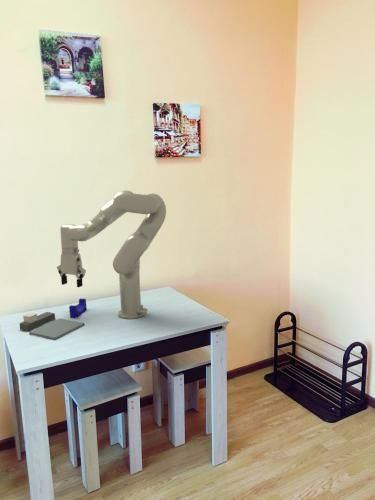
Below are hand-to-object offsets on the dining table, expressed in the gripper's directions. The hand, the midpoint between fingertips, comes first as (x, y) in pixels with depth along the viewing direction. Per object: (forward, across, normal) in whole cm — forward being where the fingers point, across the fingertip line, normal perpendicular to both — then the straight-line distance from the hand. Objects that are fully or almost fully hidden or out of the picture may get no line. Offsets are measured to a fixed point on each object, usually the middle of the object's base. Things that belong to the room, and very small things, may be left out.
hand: (72, 285), depth 200 cm
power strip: (+15, +5, +18) cm, 23 cm away
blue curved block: (+15, -2, -1) cm, 15 cm away
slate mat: (+14, -8, +19) cm, 25 cm away
